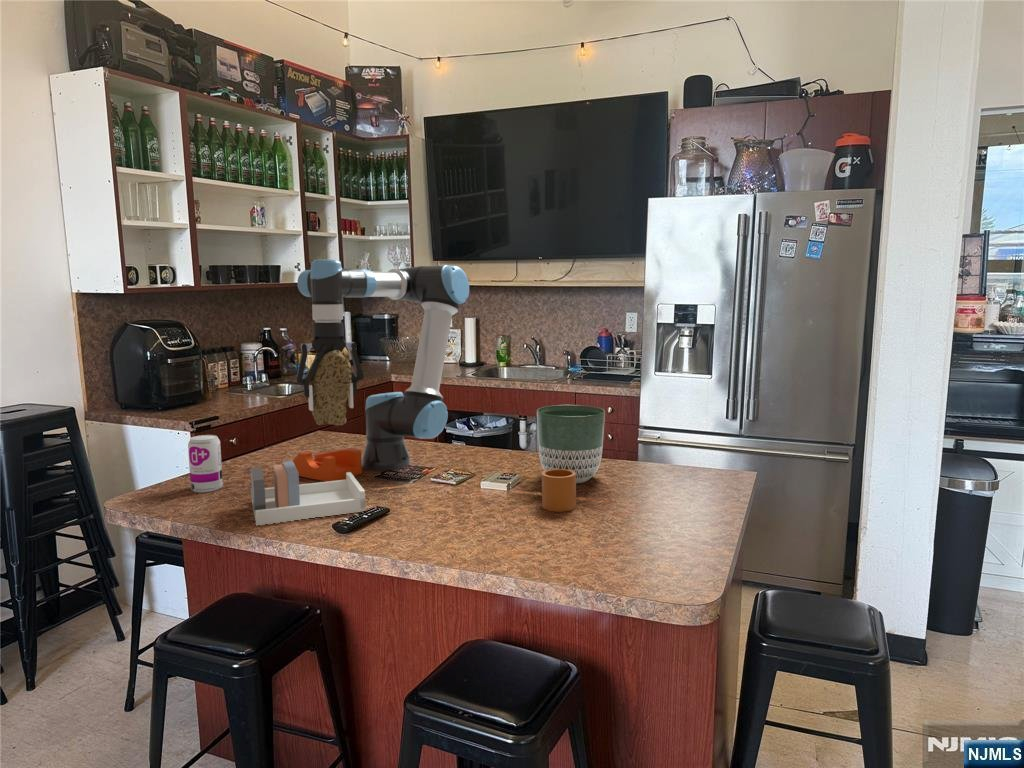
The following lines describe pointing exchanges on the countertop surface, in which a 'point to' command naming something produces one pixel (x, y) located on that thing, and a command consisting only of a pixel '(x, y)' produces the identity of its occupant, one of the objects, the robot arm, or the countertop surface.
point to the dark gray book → (258, 488)
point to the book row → (286, 484)
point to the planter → (571, 438)
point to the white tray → (315, 501)
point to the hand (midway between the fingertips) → (331, 408)
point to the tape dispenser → (329, 464)
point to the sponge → (331, 389)
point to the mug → (558, 490)
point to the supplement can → (205, 463)
